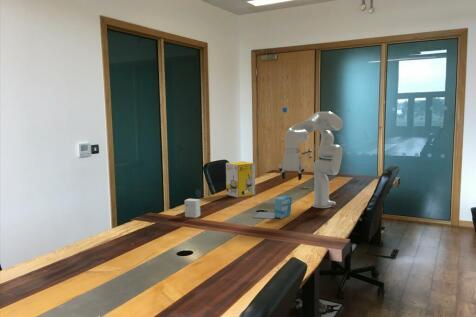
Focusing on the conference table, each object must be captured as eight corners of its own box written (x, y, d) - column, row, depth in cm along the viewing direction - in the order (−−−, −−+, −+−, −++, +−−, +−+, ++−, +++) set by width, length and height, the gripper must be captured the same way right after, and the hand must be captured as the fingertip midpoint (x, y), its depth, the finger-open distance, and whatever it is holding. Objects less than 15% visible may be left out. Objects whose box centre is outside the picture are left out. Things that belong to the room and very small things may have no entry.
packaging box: (255, 195, 309) (255, 163, 306) (238, 197, 300) (237, 164, 297) (243, 191, 322) (242, 161, 319) (226, 194, 313) (225, 162, 310)
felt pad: (279, 213, 250) (279, 213, 250) (274, 219, 237) (274, 218, 237) (259, 212, 255) (259, 211, 255) (253, 217, 241) (253, 217, 241)
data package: (280, 219, 237) (281, 199, 235) (273, 217, 239) (275, 198, 237) (290, 215, 246) (291, 196, 244) (284, 213, 249) (285, 194, 247)
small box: (200, 215, 247) (200, 199, 246) (195, 218, 242) (195, 201, 241) (189, 214, 251) (189, 198, 250) (184, 216, 246) (184, 200, 245)
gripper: (307, 150, 237) (307, 179, 239) (279, 150, 244) (279, 177, 246) (304, 152, 230) (304, 181, 232) (275, 151, 237) (276, 179, 239)
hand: (291, 179), depth 239 cm, fingers open, 9 cm apart
